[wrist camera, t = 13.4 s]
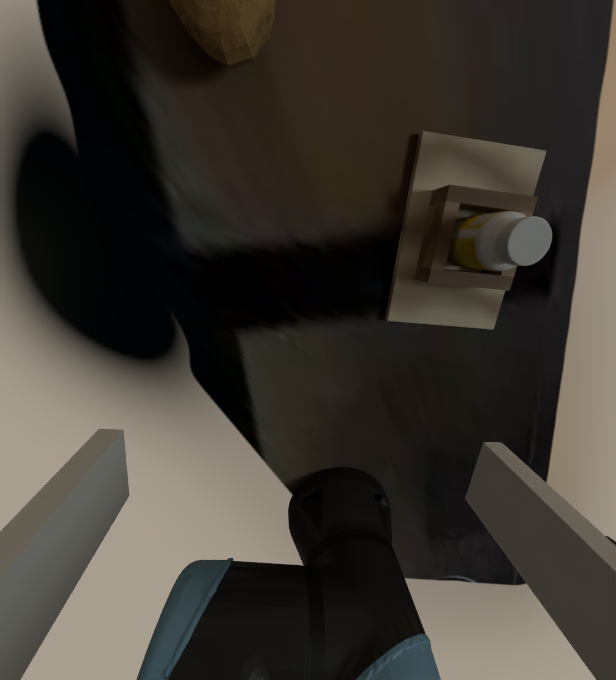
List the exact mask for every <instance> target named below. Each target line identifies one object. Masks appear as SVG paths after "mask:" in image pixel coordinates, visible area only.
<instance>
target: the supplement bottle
mask: <svg viewBox="0 0 616 680" xmlns="http://www.w3.org/2000/svg"><path fill="white" fill-rule="evenodd" d="M551 240H552V231H551V228H550V226H549V224H548V223H547V222H546V221H545V220H544V219H542V218H540V217H527V216H525V215H524V214H522V213H519V212H516V211H504V212H497V213H490V214H483V215H476V216H469V217H464V218H461V219H458V220H456V223H455V228H454V232H453V236H452V240H451V245H450V249H449V253H448V258H447V261H448V262H450V263H451V264H453V265H456V266H460V267H467V268H476V269H484V270H492V271H505V270H509V269H512V268H514V267H516V266H517V265H519V266H527V265H531V264H534V263H536V262H537V261H539V260H540V259H541V258H542V257H543V256H544V255H545V254H546V252H547V251H548V249H549V247H550V244H551Z"/></svg>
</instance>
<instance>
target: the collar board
mask: <svg viewBox="0 0 616 680" xmlns="http://www.w3.org/2000/svg"><path fill="white" fill-rule="evenodd" d="M545 154H546V151H544V150H538V149H532V148H525V147H519V146H513V145H507V144H500V143H494V142H488V141H482V140H475V139H469V138H463V137H457V136H450V135H444V134H438V133H432V132H425V131H423V132H421V133H420V134H419V137H418V142H417V148H416V153H415V159H414V164H413V170H412V175H411V180H410V186H409V191H408V197H407V202H406V208H405V213H404V218H403V224H402V229H401V235H400V240H399V246H398V251H397V257H396V262H395V267H394V273H393V278H392V284H391V289H390V295H389V300H388V305H387V311H386V316H385V319H386V320H387V321H397V322H409V323H421V324H433V325H446V326H458V327H470V328H482V329H494V326H495V323H496V319H497V316H498V313H499V309H500V306H501V303H502V299H503V296H504V292H505V290H506V291H510V288H511V284H512V281H513V278H514V274H515V271H516V268H517V266H516V267H514V268H512V269H509V270H505V271H492V270H484V269H476V268H467V267H460V266H456V265H453V264H451V263H450V262H448V261H447V258H448V253H449V249H450V245H451V240H452V236H453V232H454V228H455V223H456V220H458V219H461V218H464V217H469V216H476V215H483V214H490V213H497V212H504V211H516V212H519V213H522V214H524V215H525V216H527V217H532V215H533V211H534V208H535V205H536V201H537V198H538V197H535V196H533V195H534V191H535V188H536V184H537V181H538V178H539V174H540V171H541V167H542V164H543V161H544V157H545Z"/></svg>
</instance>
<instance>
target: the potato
mask: <svg viewBox="0 0 616 680" xmlns="http://www.w3.org/2000/svg"><path fill="white" fill-rule="evenodd" d="M168 1H169V3H170V4H171V6H172V8H173V9H174V11H175V12H176V14H177V15H178V17H179V18H180V20H181V21H182V23H183V25H184V26H185V28H186V29H187V31H188V32H189V34H190V35H191V36H192V37H193V39H194V40H195V41H196V42H197V43H198V44H199V45H200V47H201V48H202V49H203V50H204V51H205V52H206V53H207V54H208V55H209V56H210V57H211V58H213V59H214V60H215V61H218V62H220V63H222V64H225V65H227V66H229V67H231V68H235V67H238V66H241V65H244V64H247V63H250V62H253V61H254V60H255V58H256V57H257V56H258V54H259V53H260V51H261V50H262V48H263V47H264V46H265V44H266V43H267V41H268V40H269V36H270V32H271V29H272V25H273V21H274V17H275V4H276V0H168Z"/></svg>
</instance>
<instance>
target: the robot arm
mask: <svg viewBox="0 0 616 680" xmlns="http://www.w3.org/2000/svg"><path fill="white" fill-rule="evenodd" d="M128 496H129V487H128V476H127V465H126V453H125V442H124V432H123V430H113V429H99V430H98V431H97V432H96V433H95V434H94V435H93V436H92V437H91V438H90V439H89V440H88V441H87V442H86V443H85V444H84V446H82V447H81V448H80V449H79V450H78V451H77V453H75V455H74V456H73V457H72V458H71V459H70V460H69V461H68V462H67V463H66V464H65V465H64V466H63V467H62V468H61V469H60V470H59V471H58V472H57V473H56V475H54V477H52V478H51V479H50V481H49V482H48V483H47V484H46V485H45V486H44V487H43V488H42V489H41V490H40V491H39V492H38V493H37V494H36V495H35V496H34V497H33V498H32V499H31V500H30V501H29V502H28V503H27V505H25V507H24V508H23V509H22V510H21V511H20V512H19V513H18V514H17V515H16V516H15V517H14V518H13V519H12V520H11V521H10V522H9V523H8V524H7V525H6V526H5V527H4V528H3V530H2V531H1V532H0V680H20V679H21V678H22V676H23V674H24V673H25V671H26V669H27V668H28V666H29V664H30V662H31V661H32V659H33V657H34V656H35V654H36V652H37V651H38V649H39V647H40V645H41V644H42V642H43V640H44V639H45V637H46V635H47V633H48V632H49V630H50V629H51V627H52V625H53V623H54V622H55V620H56V618H57V617H58V615H59V613H60V612H61V610H62V608H63V607H64V605H65V603H66V601H67V600H68V598H69V596H70V595H71V593H72V591H73V590H74V588H75V586H76V584H77V583H78V581H79V579H80V578H81V576H82V574H83V573H84V571H85V569H86V568H87V565H88V564H89V562H90V561H91V559H92V557H93V556H94V554H95V552H96V551H97V549H98V547H99V546H100V544H101V542H102V541H103V539H104V537H105V535H106V534H107V532H108V530H109V529H110V527H111V525H112V524H113V522H114V520H115V519H116V517H117V515H118V513H119V512H120V510H121V508H122V507H123V505H124V503H125V502H126V500H127V498H128ZM465 499H466V500H467V502H468V503H469V505H470V506H471V507H472V509H473V510H474V512H475V513H476V514H477V516H478V517H479V518H480V520H481V521H482V523H483V524H484V525H485V527H486V528H487V529H488V531H489V532H490V534H491V535H492V536H493V538H494V539H495V540H496V542H497V543H498V545H499V546H500V547H501V549H502V550H503V552H504V553H505V554H506V556H507V557H508V558H509V560H510V561H511V563H512V564H513V565H514V567H515V568H516V569H517V571H518V572H519V574H520V575H521V576H522V578H523V579H524V580H525V582H526V583H527V585H528V586H529V587H530V589H531V590H532V592H533V593H534V594H535V596H536V597H537V598H538V599H539V601H540V602H541V604H542V605H543V607H544V608H545V609H546V611H547V612H548V613H549V615H550V616H551V618H552V619H553V621H554V622H555V623H556V625H557V626H558V627H559V629H560V630H561V632H562V633H563V634H564V636H565V637H566V638H567V640H568V641H569V643H570V644H571V645H572V647H573V648H574V649H575V651H576V652H577V653H578V655H579V656H580V658H581V659H582V661H583V662H584V663H585V665H586V666H587V667H588V669H589V670H590V672H591V673H592V674H593V676H594V677H595V678H596V680H616V542H615V541H614V540H612V539H611V538H609V537H608V536H604V535H603V534H602V533H601V532H600V531H599V530H598V529H597V528H595V527H594V526H593V525H592V524H591V523H590V522H589V521H588V520H587V519H586V518H584V517H583V516H582V515H581V514H580V513H579V512H578V511H577V510H576V509H574V508H573V507H572V506H571V505H570V504H569V503H568V502H567V501H566V500H565V499H563V498H562V497H561V496H560V495H559V494H558V493H557V492H556V491H555V490H553V489H552V488H551V487H550V486H549V485H548V484H547V483H546V482H545V481H543V480H542V479H541V478H540V477H539V476H538V475H537V474H536V473H535V472H533V471H532V470H531V469H530V468H529V467H528V466H527V465H526V464H525V463H524V462H522V461H521V460H520V459H519V458H518V457H517V456H516V455H515V454H514V453H512V452H511V451H510V450H509V449H508V448H507V447H506V446H505V445H504V444H502V443H495V442H483V445H482V448H481V451H480V454H479V458H478V461H477V464H476V467H475V470H474V473H473V476H472V479H471V482H470V485H469V489H468V492H467V495H466V498H465ZM288 516H289V529H290V533H291V536H292V539H293V541H294V543H295V546H296V548H297V551H298V553H299V555H300V558H301V560H302V563H303V565H304V566H301V565H287V564H272V563H257V562H241V561H233V558H229V559H227V560H198V561H195V562H192V563H191V564H189V565H188V566H187V567H186V568H185V569H184V570H183V571H182V572H181V574H180V575H179V577H178V579H177V580H176V582H175V584H174V586H173V588H172V590H171V592H170V594H169V597H168V599H167V601H166V603H165V606H164V608H163V611H162V613H161V615H160V618H159V621H158V623H157V625H156V628H155V630H154V633H153V636H152V638H151V641H150V644H149V646H148V649H147V651H146V654H145V657H144V660H143V663H142V666H141V668H140V671H139V674H138V677H137V680H441V679H440V676H439V673H438V669H437V666H436V663H435V659H434V656H433V653H432V650H431V643H430V640H429V638H428V636H426V634H425V631H424V628H423V626H422V624H421V621H420V618H419V616H418V613H417V610H416V607H415V605H414V602H413V600H412V597H411V594H410V592H409V589H408V586H407V584H406V581H405V579H404V576H403V573H402V571H401V568H400V565H399V563H398V560H397V558H396V555H395V552H394V549H393V547H392V532H391V511H390V505H389V502H388V499H387V497H386V494H385V492H384V490H383V488H382V486H381V484H380V483H379V482H378V481H377V480H376V479H375V478H374V477H372V476H371V475H369V474H367V473H365V472H363V471H360V470H357V469H351V468H335V469H330V470H326V471H323V472H320V473H318V474H315V475H313V476H312V477H310V478H308V479H307V480H306V481H304V482H303V483H302V484H301V485H300V486H299V487H298V488H297V490H296V491H295V492H294V494H293V496H292V498H291V500H290V503H289V509H288Z"/></svg>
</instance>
